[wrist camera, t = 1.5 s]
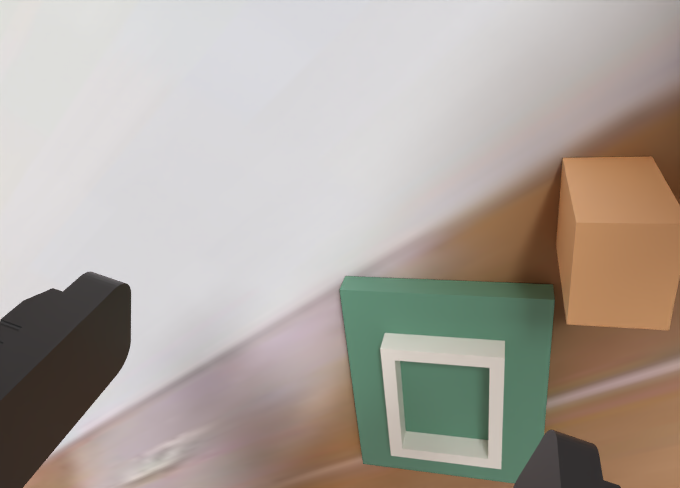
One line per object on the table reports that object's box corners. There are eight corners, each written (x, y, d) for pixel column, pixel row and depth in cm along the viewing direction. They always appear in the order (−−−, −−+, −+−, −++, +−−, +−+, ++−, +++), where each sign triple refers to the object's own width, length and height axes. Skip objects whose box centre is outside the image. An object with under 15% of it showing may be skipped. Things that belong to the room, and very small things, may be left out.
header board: (552, 284, 32) (556, 316, 30) (538, 468, 39) (540, 506, 37) (345, 276, 36) (332, 304, 33) (367, 447, 43) (358, 481, 40)
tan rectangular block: (652, 156, 28) (690, 224, 22) (635, 260, 30) (665, 345, 25) (562, 157, 29) (576, 222, 23) (555, 258, 31) (565, 338, 26)
